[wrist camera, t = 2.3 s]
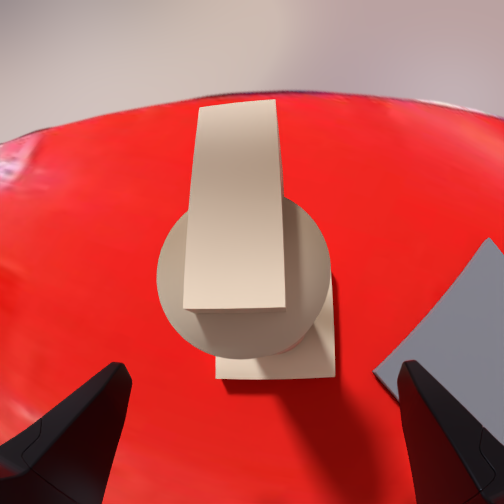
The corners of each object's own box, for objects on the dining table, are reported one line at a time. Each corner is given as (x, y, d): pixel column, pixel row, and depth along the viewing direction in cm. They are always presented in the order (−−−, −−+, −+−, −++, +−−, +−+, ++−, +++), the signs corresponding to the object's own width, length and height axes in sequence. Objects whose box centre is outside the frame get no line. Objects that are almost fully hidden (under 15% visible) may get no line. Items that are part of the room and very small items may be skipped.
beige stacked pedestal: (332, 375, 18) (414, 423, 5) (220, 377, 19) (81, 412, 6) (327, 255, 20) (369, 98, 7) (221, 260, 21) (118, 123, 8)
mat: (560, 353, 15) (566, 352, 14) (468, 482, 14) (473, 485, 13) (484, 240, 19) (489, 237, 18) (372, 371, 18) (375, 372, 17)
